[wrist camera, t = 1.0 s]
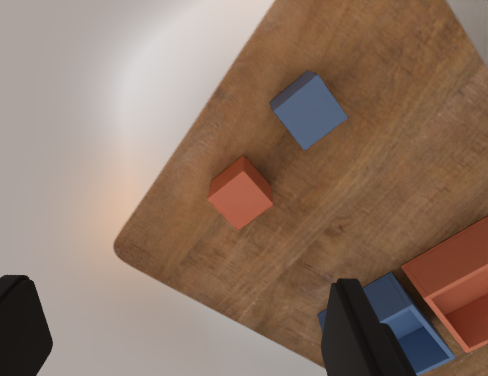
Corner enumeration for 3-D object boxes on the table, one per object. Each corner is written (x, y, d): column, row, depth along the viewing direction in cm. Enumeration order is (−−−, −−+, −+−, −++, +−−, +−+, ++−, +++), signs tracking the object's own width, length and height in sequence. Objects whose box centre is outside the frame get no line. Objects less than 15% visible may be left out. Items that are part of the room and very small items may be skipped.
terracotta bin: (487, 215, 36) (527, 242, 31) (522, 275, 39) (563, 308, 34) (400, 266, 39) (423, 298, 34) (440, 317, 42) (466, 353, 37)
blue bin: (390, 271, 39) (412, 304, 34) (431, 321, 43) (456, 358, 38) (317, 314, 42) (327, 350, 37) (360, 357, 46) (375, 396, 41)
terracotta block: (243, 154, 33) (243, 170, 29) (270, 185, 34) (274, 204, 30) (211, 180, 34) (206, 199, 30) (238, 209, 35) (238, 230, 31)
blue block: (307, 70, 29) (317, 74, 25) (334, 108, 31) (348, 117, 27) (269, 102, 31) (273, 111, 26) (296, 137, 32) (304, 150, 28)
